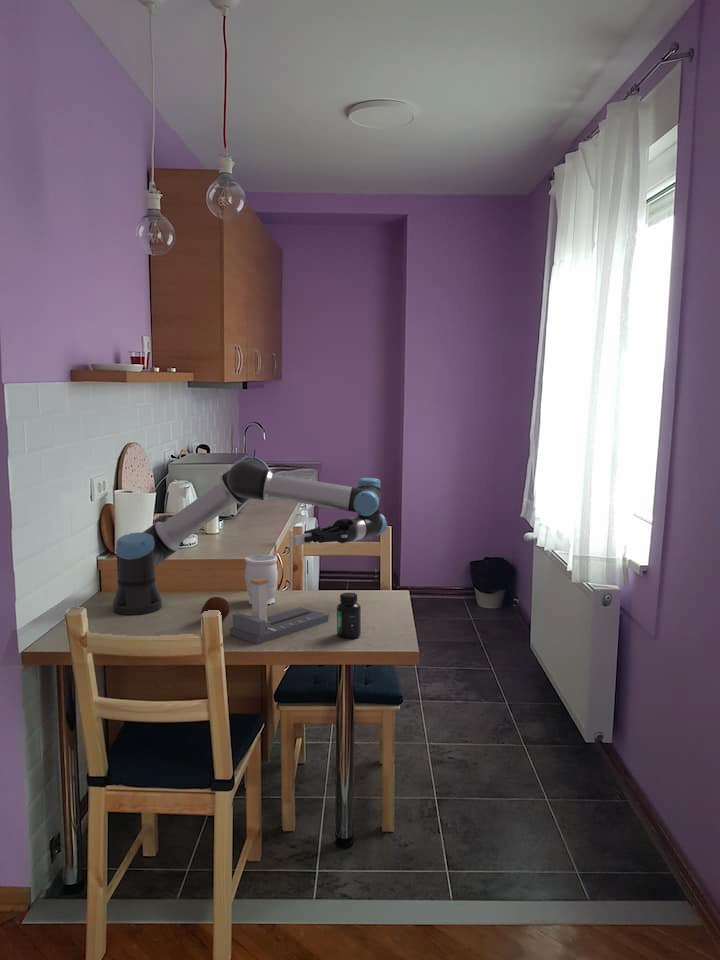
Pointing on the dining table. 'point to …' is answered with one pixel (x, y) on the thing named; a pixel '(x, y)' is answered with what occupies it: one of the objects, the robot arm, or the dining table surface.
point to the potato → (217, 606)
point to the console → (274, 624)
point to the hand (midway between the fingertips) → (294, 540)
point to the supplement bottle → (348, 617)
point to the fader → (260, 599)
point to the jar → (262, 574)
